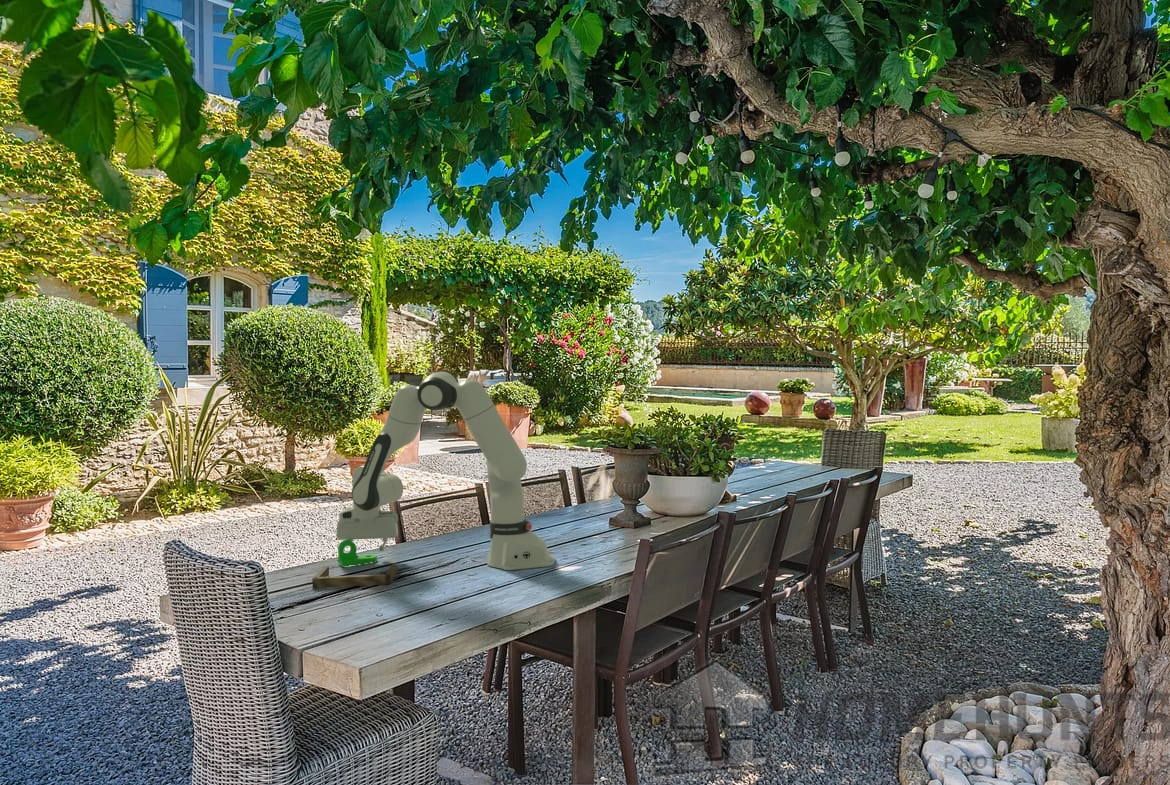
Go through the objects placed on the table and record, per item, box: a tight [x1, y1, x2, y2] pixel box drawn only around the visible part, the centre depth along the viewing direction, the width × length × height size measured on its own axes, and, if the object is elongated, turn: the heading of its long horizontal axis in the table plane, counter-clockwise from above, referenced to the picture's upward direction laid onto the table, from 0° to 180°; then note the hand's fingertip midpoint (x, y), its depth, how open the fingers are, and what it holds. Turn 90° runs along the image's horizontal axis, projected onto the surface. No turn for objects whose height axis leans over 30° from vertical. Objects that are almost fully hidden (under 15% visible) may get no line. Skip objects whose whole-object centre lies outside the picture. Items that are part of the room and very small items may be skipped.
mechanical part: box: [337, 540, 378, 566], centre depth 255 cm, size 12×6×8 cm, turn 122°
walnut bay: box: [311, 562, 399, 589], centre depth 235 cm, size 23×14×3 cm, turn 95°
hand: (368, 551), depth 259 cm, fingers open, 8 cm apart
